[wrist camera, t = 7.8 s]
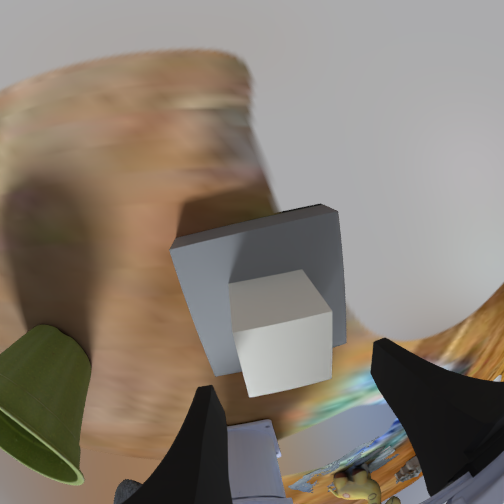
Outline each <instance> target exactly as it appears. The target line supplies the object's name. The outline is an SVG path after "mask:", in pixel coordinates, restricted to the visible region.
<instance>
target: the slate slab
mask: <svg viewBox="0 0 504 504" xmlns="http://www.w3.org/2000/svg"><path fill="white" fill-rule="evenodd" d="M280 213H281V214H276V215H271V216H267V217H262V218H258V219H254V220H249V221H245V222H240V223H236V224H232V225H228V226H223V227H219V228H215V229H211V230H207V231H202V232H198V233H194V234H190V235H186V236H182V237H178V238H175V240H174V242H173V244H172V246H171V248H170V249H169V250H170V254H171V257H172V260H173V263H174V266H175V270H176V273H177V276H178V279H179V282H180V285H181V288H182V291H183V293H184V296H185V299H186V302H187V305H188V308H189V310H190V313H191V316H192V319H193V321H194V324H195V327H196V329H197V332H198V335H199V337H200V340H201V342H202V345H203V348H204V350H205V353H206V355H207V358H208V360H209V362H210V365H211V367H212V370H213V372H214V374H215V377H216V376H221V375H227V374H232V373H237V372H242V368H241V365H240V361H239V357H238V353H237V349H236V345H235V341H234V337H233V333H232V323H231V311H230V300H229V287H228V284H229V283H235V282H240V281H245V280H251V279H256V278H261V277H266V276H271V275H276V274H281V273H286V272H291V271H296V270H301V269H302V270H303V271H304V273H305V274H306V275H307V277H308V278H309V279H310V281H311V282H312V283H313V285H314V286H315V288H316V289H317V290H318V292H319V293H320V294H321V296H322V297H323V299H324V300H325V301H326V303H327V304H328V306H329V307H330V308H331V310H332V348H333V347H336V346H339V345H342V344H345V343H346V303H345V284H344V268H343V256H342V244H341V234H340V225H339V216H338V211H336V210H334V209H332V208H330V207H327V206H325V205H323V204H321V203H320V204H315V205H310V206H306V207H300V208H296V209H291V210H286V211H282V212H280Z"/></svg>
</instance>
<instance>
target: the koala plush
mask: <svg viewBox="0 0 504 504" xmlns="http://www.w3.org/2000/svg"><path fill="white" fill-rule="evenodd" d="M141 485H142V484H141V483H139V482H136V481H133V480H129V479H127V480H126V479H125V480H123V482H121V483H120V484H119V486H118V487H117V490H116V492H115V498H114V504H122V503H123V502H124V501H125V500H126V499H128V498H129V497H130V496H131V495H132V494H133V493H135V492H136V491H137V490H138V489H139V488H140V486H141Z"/></svg>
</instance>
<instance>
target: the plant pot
mask: <svg viewBox="0 0 504 504" xmlns="http://www.w3.org/2000/svg"><path fill="white" fill-rule="evenodd" d="M90 377H91V365H90V362H89V359H88V357H87V355H86V354H85V352H84V351H83V349H82V348H81V347H80V346H79V345H78V343H77V342H76V341H75V340H74V339H72V338H71V337H69V336H66V335H64V334H63V333H61V332H60V331H59V330H58V329H57V328H56V327H53V326H49V325H38V326H36V327H34V328H33V329H31V330H30V331H29V332H27V333H26V334H25V335H23V336H22V337H21V338H20V339H19V340H17V341H16V342H15V343H14V344H12V345H11V346H10V347H9V348H7V349H6V350H5V351H4V352H2V353H1V354H0V448H1V449H2V450H4V451H5V452H6V453H8V454H9V455H10V456H12V457H13V458H14V459H16V460H17V461H19V462H20V463H22V464H23V465H25V466H27V467H28V468H30V469H32V470H34V471H35V472H37V473H39V474H41V475H43V476H45V477H48V478H50V479H53V480H55V481H58V482H61V483H64V484H69V485H81V484H83V483H84V476H83V474H82V473H81V471H80V470H79V464H80V463H79V462H80V446H79V440H80V432H81V425H82V418H83V412H84V407H85V401H86V396H87V391H88V386H89V382H90Z"/></svg>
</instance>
